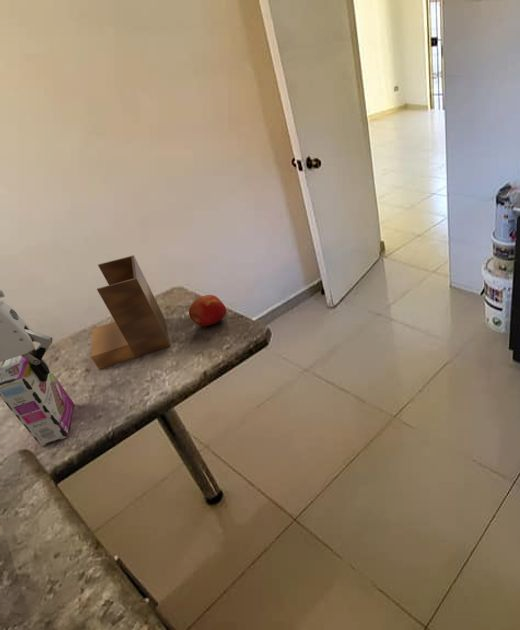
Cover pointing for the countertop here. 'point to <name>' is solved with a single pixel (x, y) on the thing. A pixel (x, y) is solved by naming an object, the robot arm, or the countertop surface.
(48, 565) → the countertop surface
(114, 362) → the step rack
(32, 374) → the candy bar box
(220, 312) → the apple
